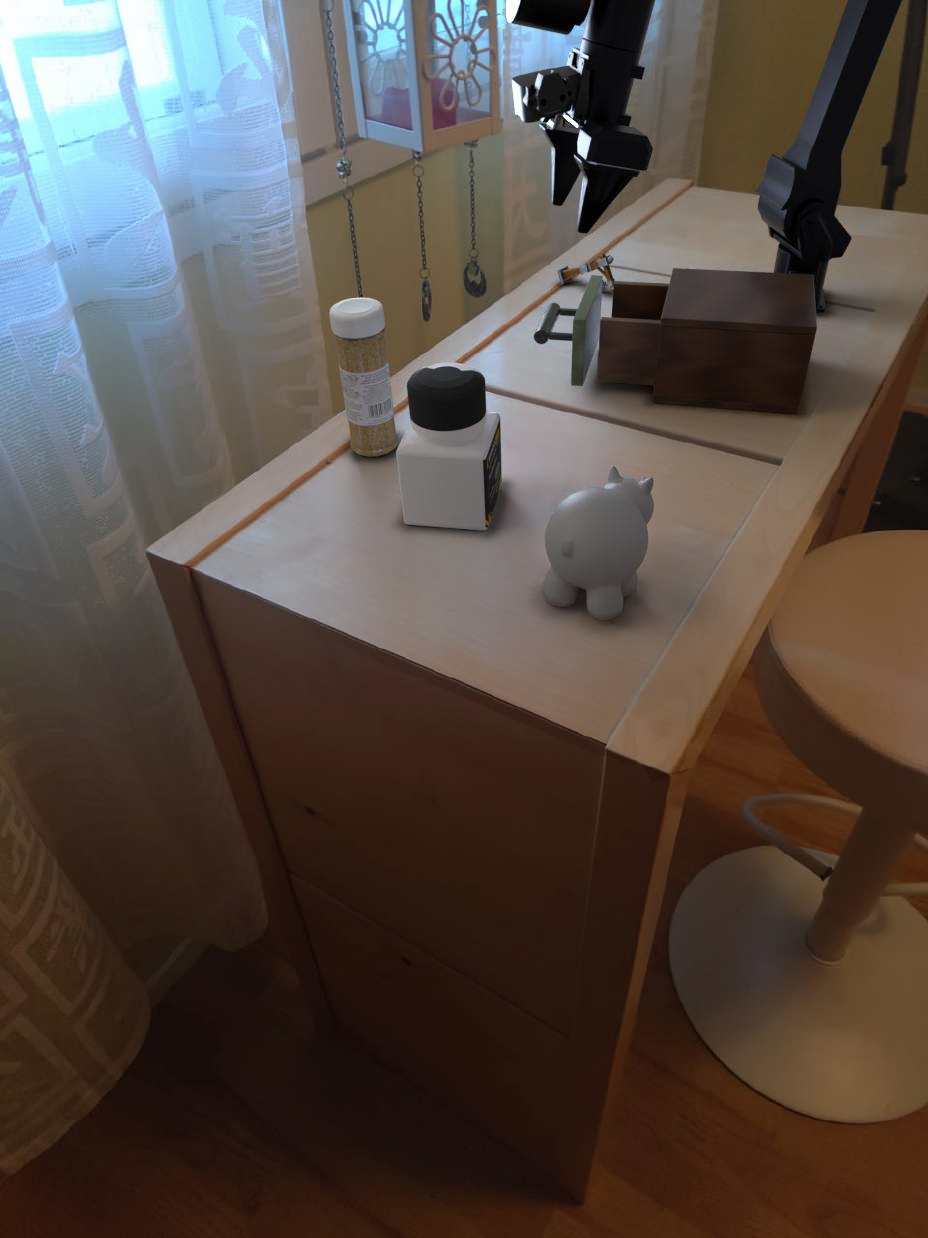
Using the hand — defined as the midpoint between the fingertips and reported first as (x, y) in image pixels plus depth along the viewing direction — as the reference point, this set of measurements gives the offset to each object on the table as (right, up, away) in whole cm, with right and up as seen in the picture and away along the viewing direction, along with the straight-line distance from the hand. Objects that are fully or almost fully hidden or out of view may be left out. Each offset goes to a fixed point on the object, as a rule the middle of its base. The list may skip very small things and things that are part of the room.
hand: (568, 218), depth 93 cm
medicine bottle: (-12, -32, -17) cm, 39 cm away
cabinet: (+16, -18, -3) cm, 24 cm away
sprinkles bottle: (-19, -26, -9) cm, 34 cm away
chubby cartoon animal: (0, -39, -25) cm, 46 cm away
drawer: (+5, -15, -1) cm, 16 cm away
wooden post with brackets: (+4, -1, +17) cm, 18 cm away
